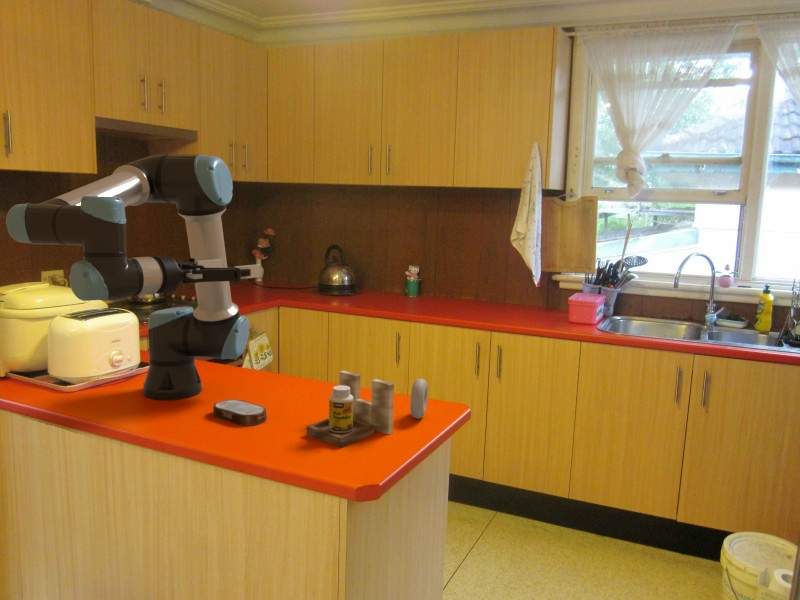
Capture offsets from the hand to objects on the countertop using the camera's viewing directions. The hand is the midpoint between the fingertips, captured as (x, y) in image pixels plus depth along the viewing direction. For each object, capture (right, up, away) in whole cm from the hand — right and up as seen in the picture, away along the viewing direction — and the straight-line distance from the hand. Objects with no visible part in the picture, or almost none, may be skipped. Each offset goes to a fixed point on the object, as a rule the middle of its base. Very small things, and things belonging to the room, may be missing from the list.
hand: (239, 267), depth 148 cm
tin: (-6, -35, +10) cm, 37 cm away
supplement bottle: (+23, -38, +3) cm, 44 cm away
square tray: (+22, -39, +4) cm, 45 cm away
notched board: (+28, -38, +10) cm, 48 cm away
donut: (+41, -37, +17) cm, 58 cm away
